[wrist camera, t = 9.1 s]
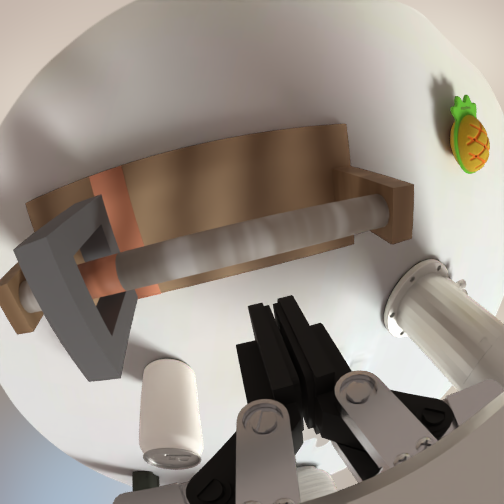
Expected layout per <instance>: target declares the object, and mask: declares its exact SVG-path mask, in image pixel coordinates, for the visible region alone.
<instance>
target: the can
mask: <svg viewBox="0 0 504 504" xmlns="http://www.w3.org/2000/svg"><path fill="white" fill-rule="evenodd" d="M139 445H140V448H141V450H142V452H143V453H144V455H143V459H144V460H145V461H146V462H147V463H149V464H151V465H153V466H156V467H159V468H164V469H173V470H178V469H188V468H192V467H195V466H197V465H198V464H199V463H200V462H201V457H200V456H201V453H202V451H203V438H202V430H201V422H200V413H199V404H198V395H197V386H196V377H195V373H194V371H193V370H192V368H191V367H189V366H188V365H187V364H185V363H183V362H181V361H179V360H175V359H159V360H156V361H153V362H151V363H150V364H148V365H147V366H146V367H145V369H144V372H143V381H142V392H141V405H140V424H139Z"/></svg>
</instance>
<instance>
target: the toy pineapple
mask: <svg viewBox="0 0 504 504" xmlns="http://www.w3.org/2000/svg"><path fill="white" fill-rule="evenodd" d="M454 103H455V105H454V106H453V107H451V108H450V111H451V114H452V115H453V117H454V119H455V122H454V123H453V125H452V128H451V132H450V133H451V136H450V145H451V148H452V152H453V155H454V157H455V159H456V161H457V162H458V164H459V165H460V167H461V168H462V170H463V171H464V172H466V173H468V174H471V173H475V172H476V171H478V170H480V169H481V168H482V167H483V166H484V164H485V163H486V162H487V160H488V157H489V149H490V143H489V138H488V137H487V132H486V130H485V128H484V127H483V125H482V124H481V122H480V121H479V120H478V119H477V118H476V104H475V103H471V101H470V98H469V96H468V95H464V98H463V101H462V100H461V98H460V97H458V96H455V99H454Z"/></svg>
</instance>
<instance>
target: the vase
mask: <svg viewBox="0 0 504 504" xmlns="http://www.w3.org/2000/svg"><path fill="white" fill-rule="evenodd" d="M297 475H298V483H299V491H300V500H301V503H302V502H305V501H309V500H312V499H316V498H319V497H322V496H325V495H328V494H331V493H334V492H337V491H338V489H337V487H336V485H335V483H334V481H333V479H332V477H331V476H330V474H329V473H328V472H326V471H324V470H321V469H316V467H314V466H302V467H297Z"/></svg>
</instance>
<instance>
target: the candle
mask: <svg viewBox="0 0 504 504" xmlns="http://www.w3.org/2000/svg"><path fill="white" fill-rule="evenodd" d="M155 487H159V477H158V476H156V475H155V474H153V473H152V472H149V471H135V472H133V491H139V490H145V489H150V488H155Z"/></svg>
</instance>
